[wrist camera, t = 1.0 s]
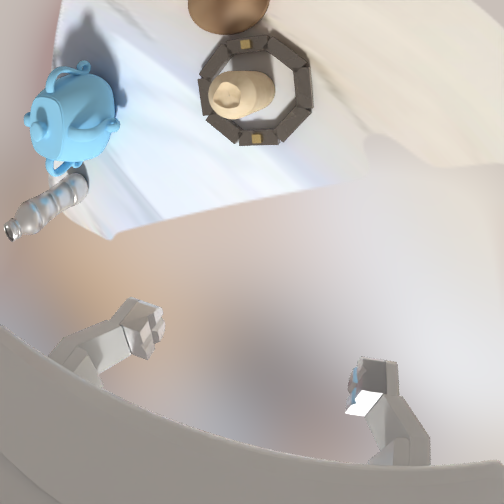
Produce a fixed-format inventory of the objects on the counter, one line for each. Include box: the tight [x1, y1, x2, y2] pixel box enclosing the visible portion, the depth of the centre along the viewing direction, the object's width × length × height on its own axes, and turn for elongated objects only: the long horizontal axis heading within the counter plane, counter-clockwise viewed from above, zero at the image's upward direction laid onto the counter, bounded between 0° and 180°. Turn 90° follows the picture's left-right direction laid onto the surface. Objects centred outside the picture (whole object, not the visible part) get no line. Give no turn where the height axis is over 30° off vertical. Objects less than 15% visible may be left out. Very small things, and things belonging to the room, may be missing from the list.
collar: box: [198, 35, 314, 146], centre depth 35 cm, size 15×15×2 cm
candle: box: [208, 71, 275, 119], centre depth 32 cm, size 6×6×10 cm
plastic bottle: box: [4, 173, 88, 242], centre depth 46 cm, size 6×7×20 cm
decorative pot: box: [24, 61, 120, 177], centre depth 39 cm, size 16×16×14 cm
